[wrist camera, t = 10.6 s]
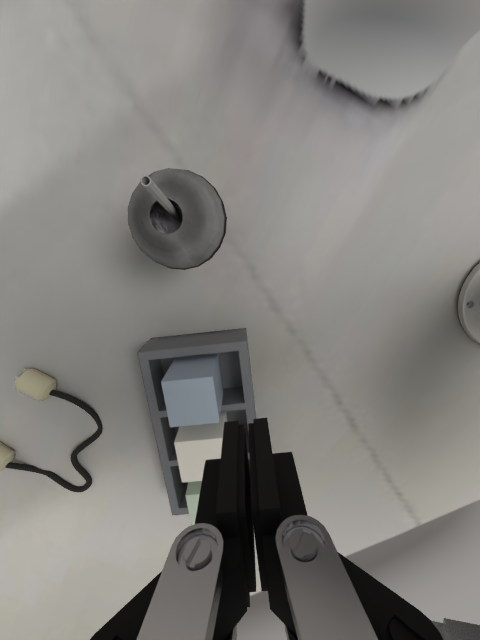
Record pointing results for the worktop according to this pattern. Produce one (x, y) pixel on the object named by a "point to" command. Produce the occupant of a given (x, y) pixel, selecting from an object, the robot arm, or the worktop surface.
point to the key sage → (193, 499)
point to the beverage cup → (177, 218)
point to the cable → (41, 389)
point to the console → (234, 382)
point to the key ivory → (198, 447)
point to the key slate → (193, 391)
